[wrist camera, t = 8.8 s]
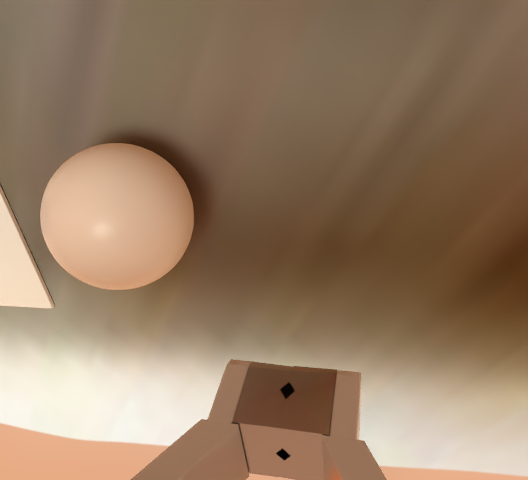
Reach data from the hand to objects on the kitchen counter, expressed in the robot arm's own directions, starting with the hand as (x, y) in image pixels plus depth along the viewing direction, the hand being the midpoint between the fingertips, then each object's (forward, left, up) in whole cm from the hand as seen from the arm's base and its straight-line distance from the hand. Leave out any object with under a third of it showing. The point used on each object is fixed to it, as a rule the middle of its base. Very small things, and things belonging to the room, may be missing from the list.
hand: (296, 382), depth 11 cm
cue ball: (+8, 0, -7) cm, 10 cm away
